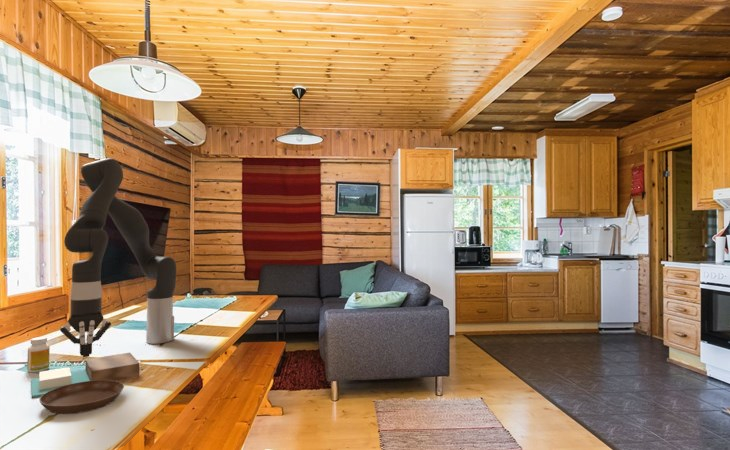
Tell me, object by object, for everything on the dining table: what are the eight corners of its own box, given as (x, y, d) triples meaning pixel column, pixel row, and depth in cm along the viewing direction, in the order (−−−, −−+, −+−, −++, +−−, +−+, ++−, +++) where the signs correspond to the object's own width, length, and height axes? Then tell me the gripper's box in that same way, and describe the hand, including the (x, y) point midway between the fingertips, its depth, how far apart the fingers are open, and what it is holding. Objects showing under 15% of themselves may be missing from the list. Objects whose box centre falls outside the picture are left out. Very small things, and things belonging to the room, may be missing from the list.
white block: (39, 371, 119) (39, 380, 119) (39, 380, 112) (39, 389, 112) (69, 367, 123) (69, 375, 123) (71, 375, 116) (71, 384, 116)
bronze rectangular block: (129, 364, 135) (130, 352, 135) (139, 376, 124) (139, 363, 125) (85, 372, 128) (85, 359, 128) (91, 385, 117) (91, 371, 117)
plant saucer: (108, 385, 118) (108, 374, 118) (135, 401, 107) (135, 389, 107) (30, 404, 104) (30, 392, 105) (51, 426, 93) (51, 412, 93)
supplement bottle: (53, 368, 132) (54, 337, 132) (35, 373, 127) (35, 341, 127) (41, 366, 133) (42, 335, 134) (23, 371, 128) (23, 339, 128)
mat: (84, 371, 128) (85, 369, 128) (91, 386, 116) (91, 384, 116) (30, 381, 120) (30, 378, 120) (31, 398, 108) (32, 395, 108)
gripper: (110, 293, 129) (109, 349, 129) (57, 297, 121) (56, 357, 121) (114, 296, 123) (114, 355, 123) (59, 300, 115) (58, 364, 115)
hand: (85, 356), depth 122 cm, fingers closed
